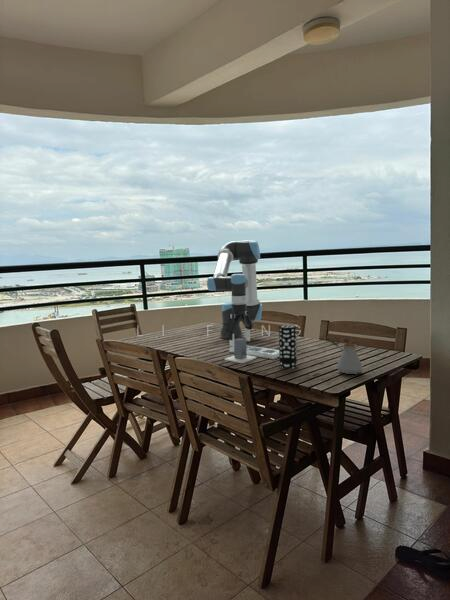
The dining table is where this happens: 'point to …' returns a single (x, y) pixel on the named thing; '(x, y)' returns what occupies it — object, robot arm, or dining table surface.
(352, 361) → the coffee pot
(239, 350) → the steel plug
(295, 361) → the spotted tube
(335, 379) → the dining table surface
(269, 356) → the white socket board
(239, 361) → the pad
